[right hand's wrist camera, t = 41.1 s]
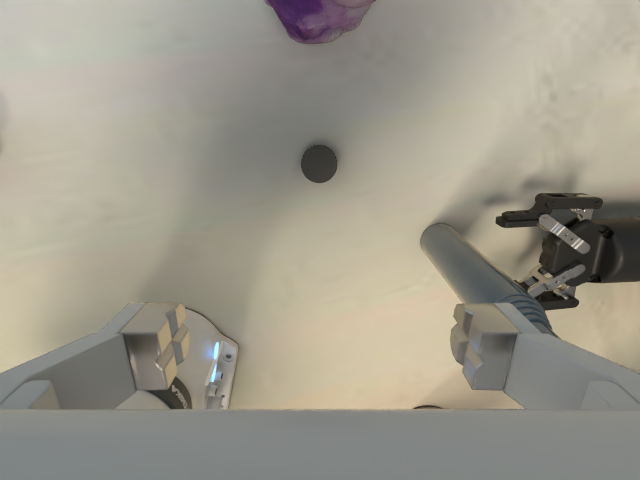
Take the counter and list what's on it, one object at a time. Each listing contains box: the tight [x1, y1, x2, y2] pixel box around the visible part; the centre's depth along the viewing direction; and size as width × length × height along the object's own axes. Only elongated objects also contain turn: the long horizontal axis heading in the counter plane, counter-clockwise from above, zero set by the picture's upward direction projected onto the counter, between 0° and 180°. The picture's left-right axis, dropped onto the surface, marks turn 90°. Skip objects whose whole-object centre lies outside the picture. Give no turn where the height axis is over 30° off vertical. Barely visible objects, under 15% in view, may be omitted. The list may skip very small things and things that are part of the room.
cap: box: [301, 145, 337, 183], centre depth 42 cm, size 4×4×2 cm
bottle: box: [420, 223, 562, 340], centre depth 35 cm, size 5×5×25 cm
